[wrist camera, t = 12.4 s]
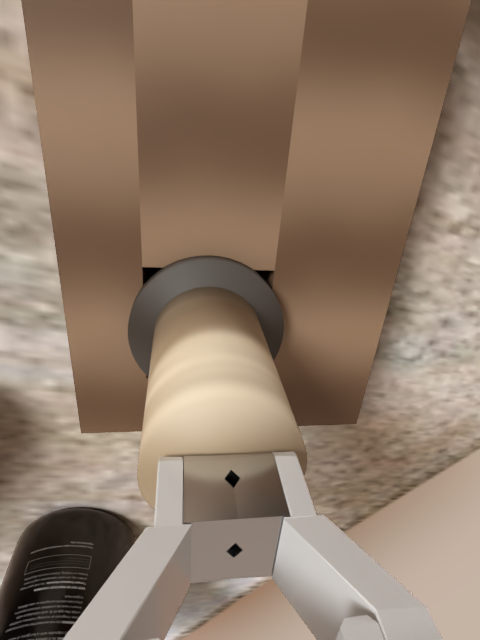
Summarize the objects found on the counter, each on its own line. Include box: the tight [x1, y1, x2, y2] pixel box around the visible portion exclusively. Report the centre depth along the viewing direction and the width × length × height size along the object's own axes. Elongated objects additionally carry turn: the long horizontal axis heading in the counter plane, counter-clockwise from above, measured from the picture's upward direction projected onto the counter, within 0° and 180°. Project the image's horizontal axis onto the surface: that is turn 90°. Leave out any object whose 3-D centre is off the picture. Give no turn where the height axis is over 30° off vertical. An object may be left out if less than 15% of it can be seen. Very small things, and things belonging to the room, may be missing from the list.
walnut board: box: [21, 0, 471, 433], centre depth 15 cm, size 16×12×4 cm
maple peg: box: [128, 255, 307, 510], centre depth 13 cm, size 6×6×10 cm
